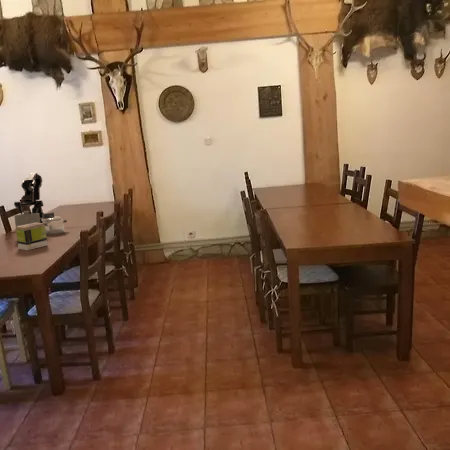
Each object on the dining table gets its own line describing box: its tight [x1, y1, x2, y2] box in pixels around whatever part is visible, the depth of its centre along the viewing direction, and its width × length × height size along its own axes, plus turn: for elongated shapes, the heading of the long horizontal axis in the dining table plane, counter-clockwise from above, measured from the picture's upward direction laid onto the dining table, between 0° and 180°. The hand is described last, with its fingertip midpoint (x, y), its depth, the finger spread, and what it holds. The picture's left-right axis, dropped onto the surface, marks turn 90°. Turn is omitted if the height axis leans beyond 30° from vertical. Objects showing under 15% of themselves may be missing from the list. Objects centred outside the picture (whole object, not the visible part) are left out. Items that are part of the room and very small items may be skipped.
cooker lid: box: [41, 212, 62, 222], centre depth 379 cm, size 14×14×4 cm
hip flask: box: [13, 210, 40, 242], centre depth 356 cm, size 16×4×20 cm, turn 104°
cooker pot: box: [43, 218, 68, 236], centre depth 376 cm, size 13×18×9 cm
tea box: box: [15, 222, 49, 251], centre depth 332 cm, size 15×10×15 cm, turn 141°
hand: (28, 215), depth 368 cm, fingers open, 9 cm apart
